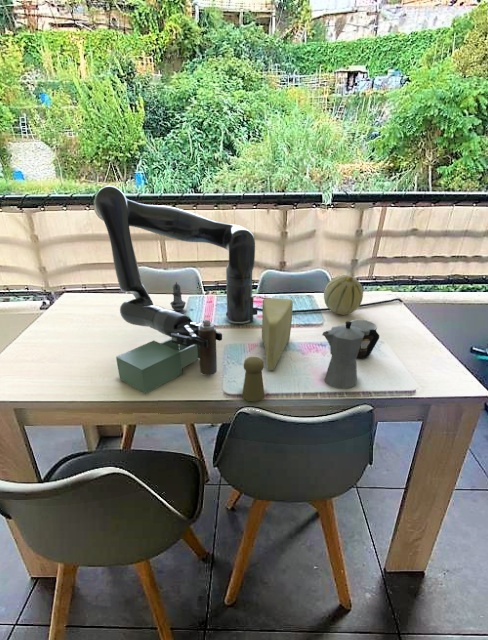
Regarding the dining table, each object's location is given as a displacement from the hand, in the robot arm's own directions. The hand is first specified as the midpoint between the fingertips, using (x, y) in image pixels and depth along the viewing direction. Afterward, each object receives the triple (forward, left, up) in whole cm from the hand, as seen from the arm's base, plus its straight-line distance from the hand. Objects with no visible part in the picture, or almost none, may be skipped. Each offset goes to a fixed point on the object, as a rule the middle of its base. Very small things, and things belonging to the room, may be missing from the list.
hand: (214, 340), depth 113 cm
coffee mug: (-45, -7, -12) cm, 47 cm away
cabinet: (+18, -4, -12) cm, 22 cm away
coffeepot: (-36, +8, -12) cm, 39 cm away
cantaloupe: (-54, -40, -12) cm, 68 cm away
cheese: (-20, -11, -12) cm, 26 cm away
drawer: (+8, -12, -11) cm, 18 cm away
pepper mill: (+2, -2, -11) cm, 11 cm away
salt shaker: (+8, -52, -12) cm, 54 cm away
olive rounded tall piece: (-9, +11, -12) cm, 18 cm away
